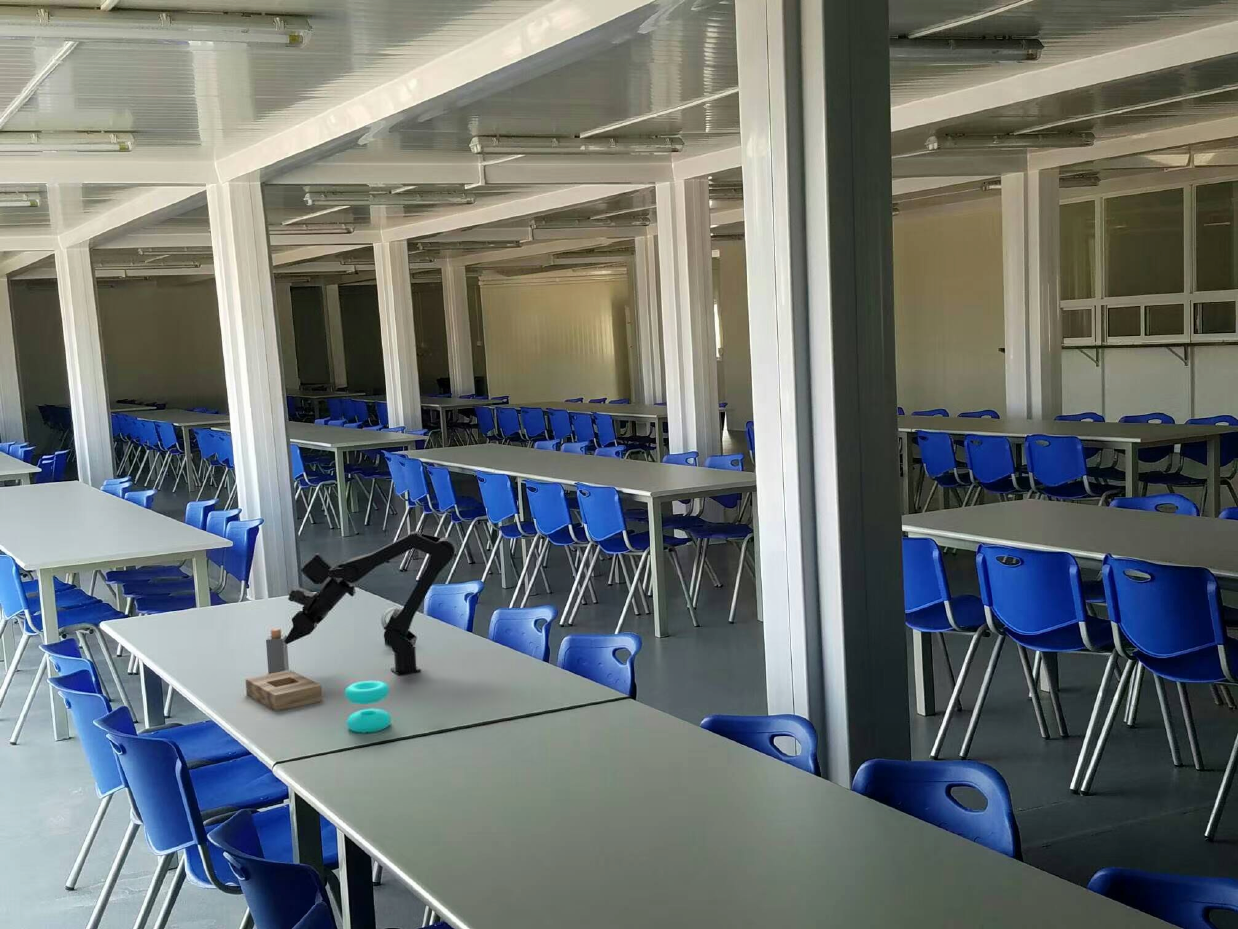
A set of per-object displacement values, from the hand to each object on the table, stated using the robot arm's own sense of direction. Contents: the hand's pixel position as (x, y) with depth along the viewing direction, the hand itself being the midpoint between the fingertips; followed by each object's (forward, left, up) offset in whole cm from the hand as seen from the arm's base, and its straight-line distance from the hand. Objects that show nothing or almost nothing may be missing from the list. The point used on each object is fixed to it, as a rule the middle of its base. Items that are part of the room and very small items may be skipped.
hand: (289, 638), depth 328 cm
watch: (+16, -35, -11) cm, 40 cm away
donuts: (-55, -3, -11) cm, 56 cm away
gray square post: (+2, +3, -10) cm, 11 cm away
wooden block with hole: (-18, +7, -10) cm, 22 cm away
